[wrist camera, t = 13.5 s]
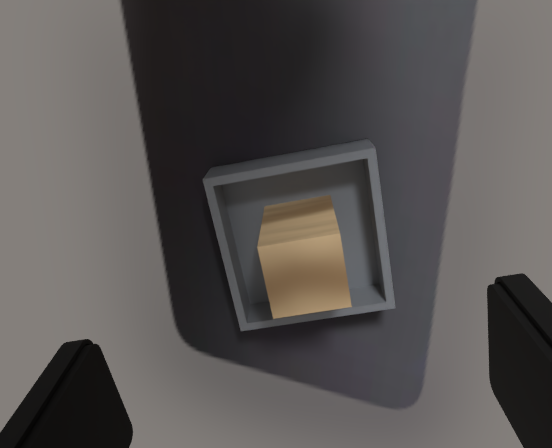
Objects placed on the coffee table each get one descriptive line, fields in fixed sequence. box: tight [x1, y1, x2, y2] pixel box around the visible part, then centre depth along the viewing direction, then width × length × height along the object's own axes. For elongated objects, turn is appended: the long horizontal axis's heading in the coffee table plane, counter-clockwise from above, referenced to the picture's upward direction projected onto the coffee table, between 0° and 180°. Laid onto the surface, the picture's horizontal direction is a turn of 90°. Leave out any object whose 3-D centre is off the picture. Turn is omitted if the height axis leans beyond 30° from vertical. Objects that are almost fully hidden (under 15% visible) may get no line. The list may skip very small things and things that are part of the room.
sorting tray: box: [202, 139, 395, 331], centre depth 36 cm, size 12×12×4 cm
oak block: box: [257, 195, 352, 319], centre depth 33 cm, size 5×5×8 cm
